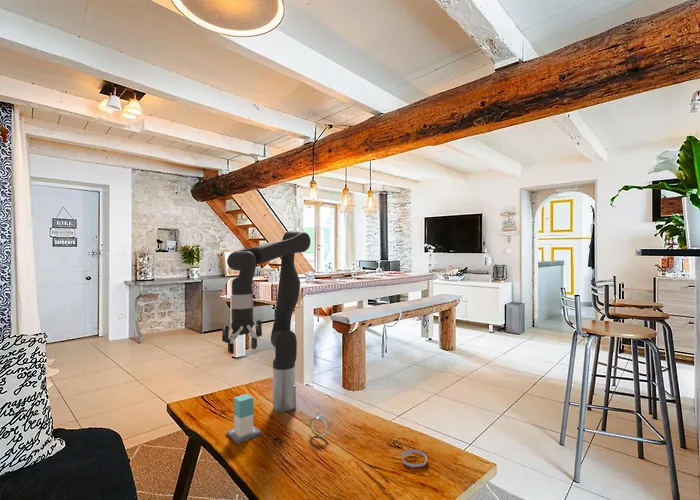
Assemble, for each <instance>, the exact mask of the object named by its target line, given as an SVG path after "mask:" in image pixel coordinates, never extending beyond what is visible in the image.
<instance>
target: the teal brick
mask: <svg viewBox="0 0 700 500" xmlns="http://www.w3.org/2000/svg"><path fill="white" fill-rule="evenodd" d="M234 414H235V415H236V416H237V417H239V418H240V419H241V418H244V417H247V416H250V415H252V414H253V415H254V397H253V396H251V395H250V394H248V393H245V394H241V395H238V396H234V397H233V415H234Z"/></svg>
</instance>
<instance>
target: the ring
mask: <svg viewBox="0 0 700 500" xmlns="http://www.w3.org/2000/svg"><path fill="white" fill-rule="evenodd" d="M315 420H320V421H322V422H323V424H324V427H325V428H324V429H325V430H324V432H323V433H321V432H317V431H316V430H315V428H314V425H313V423H314V421H315ZM309 428H310V430H311V432H312V433H313V434H314V436H316V437H318V438H320V437H324V436H325V435H326V434H327V432H328V431H329V422H328V420H327V418H326V417H324V415H323V414H322V413H320V412H318V414H317V413H315V414H314V416H313V417H312V418H311V419H310V421H309Z"/></svg>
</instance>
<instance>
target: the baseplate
mask: <svg viewBox="0 0 700 500" xmlns="http://www.w3.org/2000/svg"><path fill="white" fill-rule="evenodd" d="M225 433H226V435H227V436H228V437H229V438H230V439H231V438H232V439H233V440H232V439H231V440H232V441H234V442H235V443H236V444H237V445H238V444H241V443H242V442H243V441H244V442H245V441H248V440H251V439H253V438H257V437H259V436H261V435H262V430H260V429H258V428H257V426H254V425H253V431H252V432H249V433H246V434H244V435H241V436H240V435H239V434H238V433H236V432H235V431H234V427H233V428H231V429H228V430H226V432H225Z"/></svg>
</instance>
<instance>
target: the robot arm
mask: <svg viewBox="0 0 700 500" xmlns="http://www.w3.org/2000/svg"><path fill="white" fill-rule="evenodd" d="M310 247H311V238H310V235H309V234H308V233H307V232H305V231H301V230H287V231H286V232H284V234H283V236H282V240H278V241H271V242H266V243H263V244H259V245H256V246H254V247H250V248H244V249H240V250H236V251H235V250H234V252H233V251H232V252H231V253H230V254H228V257H227V260H226V263H227V266H228V268H229V269H231V270H233V271H238V272H239V273H238V277H235V278H233V279H232V280H231V299H230V300H231V303H230V304H231V305H230V306H231V308H230V309H231V310H230V311H231V312H230V314H231V324H223V325H222V336H221V341H222V342H223V343H227V351H228V353H229V354H231V355H233V354H234V353H235V345H234V342H235V340H236V339H237V338H238V336H243V335H250V337H251V341H250V342H251V344H250V345H251V349H252V350H256V349H257V347H258V338H259V337H262V336H263V332H262V331H263V328H262V321H261V320H259V319H255V320H254V298H253V280H254V277H255V273H256V269H257V265H262V264H265V263H267V262H270V261H272V260H276V259H279V258H281V259H280V260H281V261H280V262H281V263H280V272H279V280H278V286H277V295H276V304H275V305H276V306H275V316H274V321H273V324H272V325H273V326H272V329H271V334H270V342H271V345H272V346H273V347H274V348H275V352H274V353H275V356H274V357H275V358H274V359H273V361H272V386H273V387H272V393H273V394H272V396H273V397H272V399H273V400H272V401H273V404H272V405H273V407H272V408H273V410H274V411H275V412H281V413H282V412H283V413H284V412H289V411H292V410H294V409H295V410H296V409H297V385H296V360H297V354H298V351H297V349H298V346H297V345H298V343H297V336H296V334H295V332H294V331H292V330H291V324H292V316H293V314H294V313H293V312H294V310H295V308H296V307H297V304H298V301H299V297H300V290H301V281H300V277H299V274H298V272H297V270H296V267H295V254H298V253H305V252H306V251H308V250H309V248H310ZM253 327H255V330H254V329H253ZM231 330H232V331H231ZM230 331H231V332H230ZM229 333H230V334H229Z"/></svg>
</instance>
